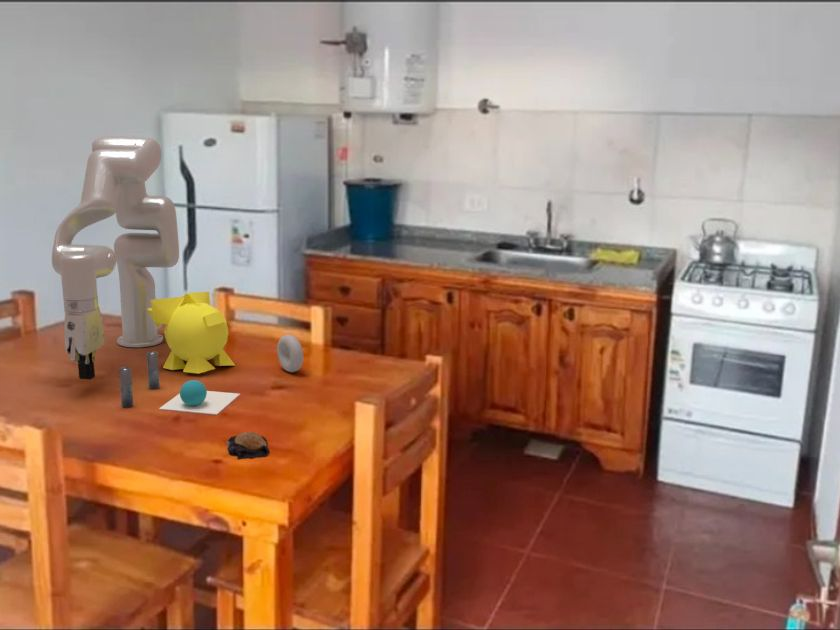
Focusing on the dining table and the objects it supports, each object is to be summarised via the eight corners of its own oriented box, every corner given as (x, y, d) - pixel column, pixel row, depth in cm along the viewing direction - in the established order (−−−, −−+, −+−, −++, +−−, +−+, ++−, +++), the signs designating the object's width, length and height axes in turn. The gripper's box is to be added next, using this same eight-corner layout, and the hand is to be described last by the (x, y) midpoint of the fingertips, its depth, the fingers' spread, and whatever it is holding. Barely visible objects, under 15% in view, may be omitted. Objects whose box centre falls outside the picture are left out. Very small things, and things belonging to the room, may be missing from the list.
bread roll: (223, 444, 180) (223, 427, 179) (264, 439, 183) (263, 423, 182) (231, 464, 171) (231, 446, 170) (274, 458, 173) (273, 441, 173)
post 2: (151, 385, 212) (149, 350, 210) (161, 386, 212) (159, 351, 210) (146, 388, 210) (144, 353, 208) (156, 389, 209) (154, 354, 207)
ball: (216, 391, 200) (200, 407, 203) (200, 372, 201) (184, 388, 203) (202, 398, 195) (186, 414, 197) (185, 378, 195) (169, 394, 197)
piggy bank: (197, 351, 241) (195, 283, 237) (247, 364, 231) (245, 294, 226) (138, 368, 225) (134, 296, 221) (189, 383, 215) (186, 308, 210)
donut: (274, 368, 228) (274, 331, 226) (285, 365, 231) (285, 329, 228) (294, 377, 221) (294, 340, 219) (306, 375, 223) (306, 338, 221)
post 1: (125, 403, 200) (122, 366, 197) (135, 404, 199) (133, 367, 197) (119, 407, 197) (117, 369, 195) (129, 408, 197) (127, 370, 195)
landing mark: (185, 389, 210) (185, 388, 210) (240, 394, 208) (240, 393, 208) (158, 409, 197) (158, 408, 196) (216, 414, 194) (216, 414, 194)
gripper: (78, 314, 194) (84, 390, 199) (112, 297, 208) (117, 369, 213) (47, 311, 195) (54, 387, 200) (83, 295, 209) (89, 366, 214)
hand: (87, 377), depth 207 cm, fingers closed
